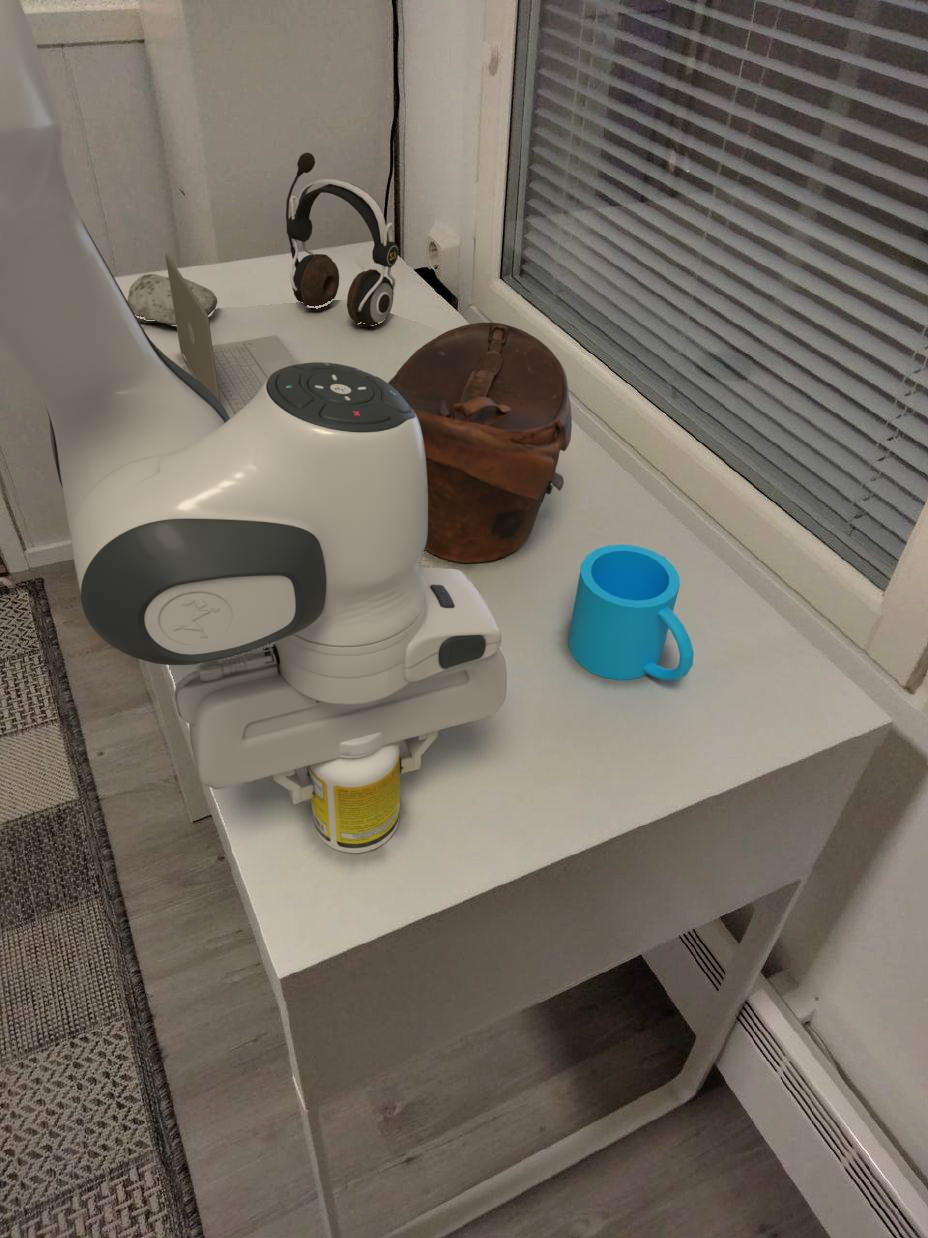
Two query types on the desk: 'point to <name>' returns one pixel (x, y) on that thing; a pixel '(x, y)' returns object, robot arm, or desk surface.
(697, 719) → the desk surface
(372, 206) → the headset
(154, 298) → the decorative stone
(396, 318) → the desk surface
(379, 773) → the pill bottle
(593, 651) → the mug
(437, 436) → the case
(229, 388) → the laptop
